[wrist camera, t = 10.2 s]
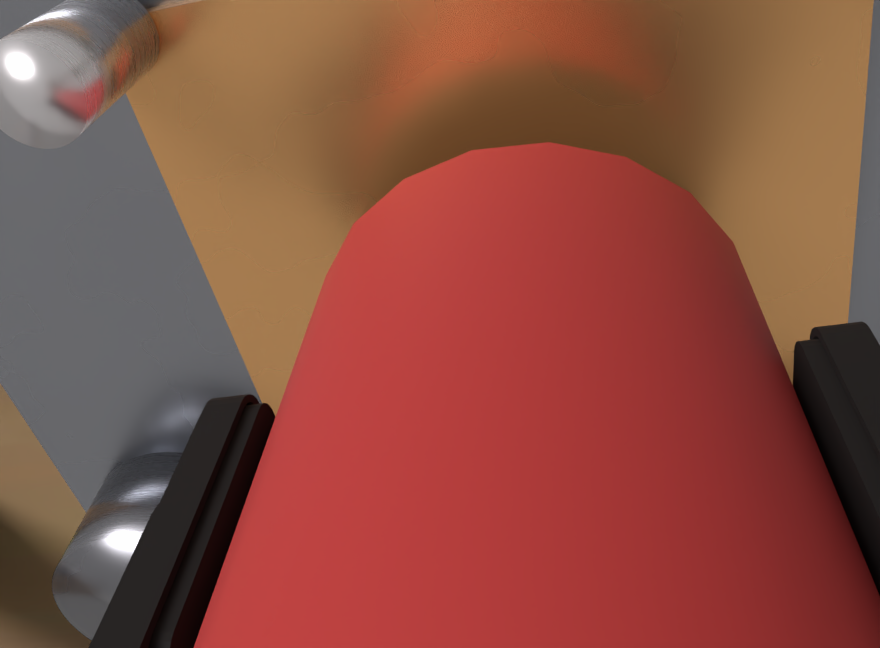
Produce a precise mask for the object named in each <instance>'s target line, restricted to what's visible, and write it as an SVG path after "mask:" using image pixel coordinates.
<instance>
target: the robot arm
mask: <svg viewBox="0 0 880 648" xmlns="http://www.w3.org/2000/svg"><path fill="white" fill-rule="evenodd" d="M793 388H794V390H795V392H796V395H797V397H798V400H799V402H800V404H801V407H802V409H803V412H804V414H805V416H806V419H807V421H808V424H809V426H810V429H811V431H812V433H813V436H814V438H815V441H816V443H817V445H818V448H819V450H820V453H821V455H822V457H823V460H824V462H825V465H826V467H827V470H828V472H829V474H830V477H831V479H832V482H833V484H834V486H835V489H836V491H837V494H838V496H839V499H840V501H841V503H842V506H843V508H844V511H845V513H846V515H847V518H848V520H849V523H850V525H851V527H852V530H853V532H854V535H855V537H856V540H857V542H858V544H859V547H860V549H861V552H862V554H863V556H864V559H865V561H866V564H867V566H868V569H869V571H870V573H871V576H872V578H873V581H874V583H875V585H876V588H877V590H878V593H879V595H880V345H879V343H878V341H877V340H876V338H875V336H874V334H873V333H872V331H871V329H870V328H869V326H868V325H867V324H866V323H864V322H854V323H845V324H837V325H828V326H820V327H814V328H812V330H811V333H810V340H803V341H797V342H796V343H795V346H794V365H793ZM274 420H275V415H274V412H273V410H272V408H271V407H270V405H268V404H267V403H259V402H258V400H257V398H256V397H255V396H253V395H251V394H246V395H237V396H229V397H220V398H212V399H211V400H209V401H208V402H207V403H206V405H205V406H204V408H203V411H202V413H201V415H200V417H199V419H198V421H197V423H196V426H195V428H194V430H193V432H192V434H191V436H190V438H189V441H188V443H187V445H186V447H185V449H184V451H183V453H182V456H181V458H180V460H179V462H178V464H177V466H176V469H175V471H174V473H173V475H172V477H171V479H170V481H169V484H168V486H167V488H166V490H165V492H164V494H163V496H162V499H161V501H160V503H159V504H158V505H157V506H156V508H155V509H154V511H153V513H152V514H151V516H150V518H149V520H148V522H147V524H146V527H145V529H144V531H143V533H142V535H141V537H140V539H139V542H138V544H137V546H136V548H135V550H134V552H133V554H132V556H131V559H130V561H129V563H128V565H127V567H126V569H125V571H124V573H123V576H122V578H121V580H120V582H119V584H118V586H117V588H116V590H115V593H114V595H113V597H112V599H111V601H110V603H109V605H108V607H107V610H106V612H105V614H104V616H103V618H102V620H101V622H100V625H99V627H98V629H97V631H96V633H95V635H94V637H93V639H92V642H91V644H90V646H89V648H194V645H195V642H196V639H197V637H198V634H199V631H200V628H201V625H202V623H203V620H204V617H205V614H206V611H207V609H208V606H209V603H210V600H211V597H212V594H213V592H214V589H215V586H216V583H217V580H218V578H219V575H220V572H221V569H222V566H223V563H224V561H225V558H226V555H227V552H228V549H229V547H230V544H231V541H232V538H233V535H234V533H235V530H236V527H237V524H238V521H239V518H240V516H241V513H242V510H243V507H244V504H245V502H246V499H247V496H248V493H249V490H250V488H251V485H252V482H253V479H254V476H255V473H256V471H257V468H258V465H259V462H260V459H261V457H262V454H263V451H264V448H265V445H266V443H267V440H268V437H269V434H270V431H271V428H272V426H273V423H274Z"/></svg>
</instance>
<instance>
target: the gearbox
mask: <svg viewBox="0 0 880 648" xmlns="http://www.w3.org/2000/svg"><path fill="white" fill-rule="evenodd" d="M545 142H551V143H557V144H562V145H567V146H572V147H577V148H582V149H588V150H593V151H598V152H603V153H608V154H613V155H619V156H624V157H627V158H629V159H631V160H632V161H634V162H636V163H638V164H640V165H642V166H643V167H645V168H647V169H649V170H651V171H652V172H654V173H656V174H658V175H660V176H661V177H663V178H665V179H667V180H669V181H671V182H672V183H674V184H676V185H678V186H680V187H681V188H683V189H685V190H687V191H689V192H690V193H691V194H692V195H693V196H694V197H695V199H696V200H697V201H698V202H699V203H700V204H701V205H702V207H703V208H704V209H705V210H706V211H707V212H708V214H709V215H710V216H711V217H712V218H713V219H714V220H715V222H716V223H717V224H718V225H719V226H720V227H721V229H722V230H723V231H724V232H725V233H726V234H727V235H728V237H729V238H730V239H731V240H732V241H733V243H734V245H735V248H736V250H737V252H738V255H739V257H740V260H741V262H742V264H743V267H744V269H745V272H746V274H747V276H748V279H749V281H750V284H751V286H752V289H753V291H754V293H755V296H756V298H757V301H758V303H759V305H760V308H761V310H762V313H763V315H764V318H765V320H766V322H767V325H768V327H769V330H770V332H771V334H772V337H773V339H774V342H775V344H776V346H777V349H778V351H779V354H780V356H781V359H782V361H783V363H784V366H785V368H786V371H787V373H788V375H789V378H790V380H791V383H792V385H793V365H794V346H795V343H796V342H797V341H803V340H810V333H811V330H812V328H814V327H820V326H828V325H837V324H845V323H854V322H864V323H866V324H867V325H868V326H869V328H870V329H871V331H872V333H873V334H874V336H875V338H876V340H877V341H878V343H879V345H880V0H0V383H1V385H2V386H3V388H4V389H5V391H6V392H7V394H8V395H9V397H10V398H11V400H12V401H13V403H14V404H15V406H16V407H17V409H18V410H19V412H20V413H21V415H22V416H23V418H24V419H25V421H26V422H27V424H28V425H29V427H30V428H31V430H32V431H33V433H34V435H35V436H36V438H37V439H38V441H39V442H40V444H41V445H42V447H43V448H44V450H45V451H46V453H47V454H48V456H49V457H50V459H51V460H52V462H53V463H54V465H55V466H56V468H57V469H58V471H59V472H60V474H61V475H62V477H63V478H64V480H65V481H66V483H67V484H68V486H69V487H70V489H71V490H72V492H73V493H74V495H75V496H76V498H77V499H78V501H79V502H80V504H81V505H82V507H83V508H84V510H85V511H86V515H85V516H84V518H83V520H82V522H81V524H80V525H79V527H78V529H77V531H76V533H75V535H74V536H73V538H72V540H71V542H70V544H69V545H68V547H67V549H66V551H65V553H64V555H63V556H62V558H61V560H60V562H59V564H58V565H57V567H56V570H55V572H54V574H53V579H52V591H53V595H54V599H55V601H56V603H57V606H58V608H59V609H60V611H61V612H62V614H63V615H64V616H65V618H66V619H67V620H68V621H69V622H70V623H71V624H72V625H73V626H74V627H75V628H76V629H77V630H78V631H79V632H81V633H82V634H83V635H84V636H86V637H87V638H88V639H90V640H92V639H93V637H94V635H95V633H96V631H97V629H98V627H99V625H100V622H101V620H102V618H103V616H104V614H105V612H106V610H107V607H108V605H109V603H110V601H111V599H112V597H113V595H114V593H115V590H116V588H117V586H118V584H119V582H120V580H121V578H122V576H123V573H124V571H125V569H126V567H127V565H128V563H129V561H130V559H131V556H132V554H133V552H134V550H135V548H136V546H137V544H138V542H139V539H140V537H141V535H142V533H143V531H144V529H145V527H146V524H147V522H148V520H149V518H150V516H151V514H152V513H153V511H154V509H155V508H156V506H157V505H158V504H159V503H160V501H161V499H162V496H163V494H164V492H165V490H166V488H167V486H168V484H169V481H170V479H171V477H172V475H173V473H174V471H175V469H176V466H177V464H178V462H179V460H180V458H181V456H182V453H183V451H184V449H185V447H186V445H187V443H188V441H189V438H190V436H191V434H192V432H193V430H194V428H195V426H196V423H197V421H198V419H199V417H200V415H201V413H202V411H203V408H204V406H205V405H206V403H207V402H208V401H209V400H211V399H212V398H220V397H229V396H237V395H246V394H251V395H253V396H255V397H256V398H257V400H258V402H259V403H267V404H268V405H270V407H271V408H272V410H273V412H274V415H275V417H276V414H277V412H278V409H279V406H280V403H281V400H282V398H283V395H284V392H285V389H286V386H287V383H288V381H289V378H290V375H291V372H292V369H293V367H294V364H295V361H296V358H297V355H298V353H299V350H300V347H301V344H302V341H303V338H304V336H305V333H306V330H307V327H308V324H309V322H310V319H311V316H312V313H313V310H314V308H315V305H316V302H317V299H318V296H319V293H320V291H321V288H322V285H323V282H324V279H325V277H326V275H327V273H328V271H329V269H330V267H331V265H332V263H333V261H334V259H335V258H336V256H337V254H338V252H339V250H340V248H341V246H342V244H343V243H344V241H345V239H346V237H347V235H348V233H349V231H350V229H351V227H352V226H353V224H354V223H355V222H356V221H357V220H358V219H359V218H360V217H361V216H363V215H364V214H365V213H366V212H367V211H368V210H369V209H371V208H372V207H373V206H374V205H375V204H376V203H377V202H378V201H380V200H381V199H382V198H383V197H384V196H385V195H386V194H387V193H389V192H390V191H391V190H392V189H393V188H394V187H395V186H396V185H398V184H399V183H400V182H401V181H402V180H403V179H405V178H408V177H410V176H412V175H415V174H417V173H419V172H422V171H424V170H426V169H429V168H431V167H433V166H436V165H438V164H440V163H443V162H445V161H448V160H450V159H452V158H455V157H457V156H459V155H462V154H464V153H466V152H469V151H471V150H478V149H487V148H497V147H507V146H516V145H526V144H536V143H545Z"/></svg>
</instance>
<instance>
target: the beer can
mask: <svg viewBox="0 0 880 648" xmlns="http://www.w3.org/2000/svg"><path fill="white" fill-rule="evenodd" d="M194 648H880V595H879V593H878V590H877V588H876V585H875V583H874V581H873V578H872V576H871V573H870V571H869V569H868V566H867V564H866V561H865V559H864V556H863V554H862V552H861V549H860V547H859V544H858V542H857V540H856V537H855V535H854V532H853V530H852V527H851V525H850V523H849V520H848V518H847V515H846V513H845V511H844V508H843V506H842V503H841V501H840V499H839V496H838V494H837V491H836V489H835V486H834V484H833V482H832V479H831V477H830V474H829V472H828V470H827V467H826V465H825V462H824V460H823V457H822V455H821V453H820V450H819V448H818V445H817V443H816V441H815V438H814V436H813V433H812V431H811V429H810V426H809V424H808V421H807V419H806V416H805V414H804V412H803V409H802V407H801V404H800V402H799V400H798V397H797V395H796V392H795V390H794V388H793V385H792V383H791V380H790V378H789V375H788V373H787V371H786V368H785V366H784V363H783V361H782V359H781V356H780V354H779V351H778V349H777V346H776V344H775V342H774V339H773V337H772V334H771V332H770V330H769V327H768V325H767V322H766V320H765V318H764V315H763V313H762V310H761V308H760V305H759V303H758V301H757V298H756V296H755V293H754V291H753V289H752V286H751V284H750V281H749V279H748V276H747V274H746V272H745V269H744V267H743V264H742V262H741V260H740V257H739V255H738V252H737V250H736V248H735V245H734V243H733V241H732V240H731V239H730V238H729V237H728V235H727V234H726V233H725V232H724V231H723V230H722V229H721V227H720V226H719V225H718V224H717V223H716V222H715V220H714V219H713V218H712V217H711V216H710V215H709V214H708V212H707V211H706V210H705V209H704V208H703V207H702V205H701V204H700V203H699V202H698V201H697V200H696V199H695V197H694V196H693V195H692V194H691V193H690V192H689V191H687V190H685V189H683V188H681V187H680V186H678V185H676V184H674V183H672V182H671V181H669V180H667V179H665V178H663V177H661V176H660V175H658V174H656V173H654V172H652V171H651V170H649V169H647V168H645V167H643V166H642V165H640V164H638V163H636V162H634V161H632V160H631V159H629V158H627V157H624V156H619V155H613V154H608V153H603V152H598V151H593V150H588V149H582V148H577V147H572V146H567V145H562V144H557V143H551V142H545V143H536V144H526V145H516V146H507V147H497V148H487V149H478V150H471V151H469V152H466V153H464V154H462V155H459V156H457V157H455V158H452V159H450V160H448V161H445V162H443V163H440V164H438V165H436V166H433V167H431V168H429V169H426V170H424V171H422V172H419V173H417V174H415V175H412V176H410V177H408V178H405V179H403V180H402V181H401V182H400V183H399V184H398V185H396V186H395V187H394V188H393V189H392V190H391V191H390V192H389V193H387V194H386V195H385V196H384V197H383V198H382V199H381V200H380V201H378V202H377V203H376V204H375V205H374V206H373V207H372V208H371V209H369V210H368V211H367V212H366V213H365V214H364V215H363V216H361V217H360V218H359V219H358V220H357V221H356V222H355V223H354V224H353V226H352V227H351V229H350V231H349V233H348V235H347V237H346V239H345V241H344V243H343V244H342V246H341V248H340V250H339V252H338V254H337V256H336V258H335V259H334V261H333V263H332V265H331V267H330V269H329V271H328V273H327V275H326V277H325V279H324V282H323V285H322V288H321V291H320V293H319V296H318V299H317V302H316V305H315V308H314V310H313V313H312V316H311V319H310V322H309V324H308V327H307V330H306V333H305V336H304V338H303V341H302V344H301V347H300V350H299V353H298V355H297V358H296V361H295V364H294V367H293V369H292V372H291V375H290V378H289V381H288V383H287V386H286V389H285V392H284V395H283V398H282V400H281V403H280V406H279V409H278V412H277V414H276V417H275V420H274V423H273V426H272V428H271V431H270V434H269V437H268V440H267V443H266V445H265V448H264V451H263V454H262V457H261V459H260V462H259V465H258V468H257V471H256V473H255V476H254V479H253V482H252V485H251V488H250V490H249V493H248V496H247V499H246V502H245V504H244V507H243V510H242V513H241V516H240V518H239V521H238V524H237V527H236V530H235V533H234V535H233V538H232V541H231V544H230V547H229V549H228V552H227V555H226V558H225V561H224V563H223V566H222V569H221V572H220V575H219V578H218V580H217V583H216V586H215V589H214V592H213V594H212V597H211V600H210V603H209V606H208V609H207V611H206V614H205V617H204V620H203V623H202V625H201V628H200V631H199V634H198V637H197V639H196V642H195V645H194Z"/></svg>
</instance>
